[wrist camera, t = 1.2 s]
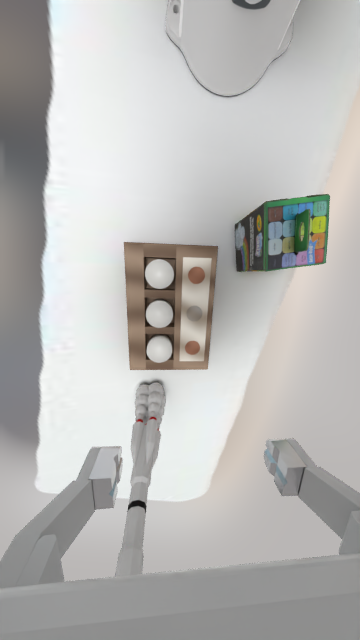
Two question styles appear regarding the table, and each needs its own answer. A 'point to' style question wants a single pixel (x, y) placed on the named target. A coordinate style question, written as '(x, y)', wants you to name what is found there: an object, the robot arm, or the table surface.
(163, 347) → the button
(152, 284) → the button
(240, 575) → the robot arm
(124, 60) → the table surface
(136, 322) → the board
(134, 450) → the rocket model
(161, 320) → the middle button
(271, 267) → the chalk box
